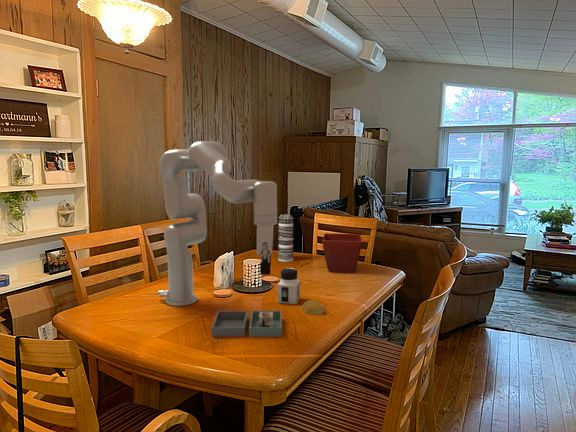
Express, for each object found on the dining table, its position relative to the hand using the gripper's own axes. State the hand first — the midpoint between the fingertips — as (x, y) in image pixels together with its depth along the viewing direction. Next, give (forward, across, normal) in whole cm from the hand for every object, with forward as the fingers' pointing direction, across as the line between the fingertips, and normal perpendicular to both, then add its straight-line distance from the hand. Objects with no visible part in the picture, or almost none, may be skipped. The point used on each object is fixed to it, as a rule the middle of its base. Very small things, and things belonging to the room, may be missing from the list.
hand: (265, 270), depth 145 cm
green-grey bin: (+20, 0, 0) cm, 20 cm away
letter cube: (+20, 0, 0) cm, 20 cm away
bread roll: (+21, -16, +17) cm, 32 cm away
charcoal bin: (+20, 0, -12) cm, 24 cm away
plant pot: (+21, -74, +36) cm, 85 cm away
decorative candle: (+20, -94, +8) cm, 97 cm away
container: (+21, -28, +8) cm, 36 cm away
